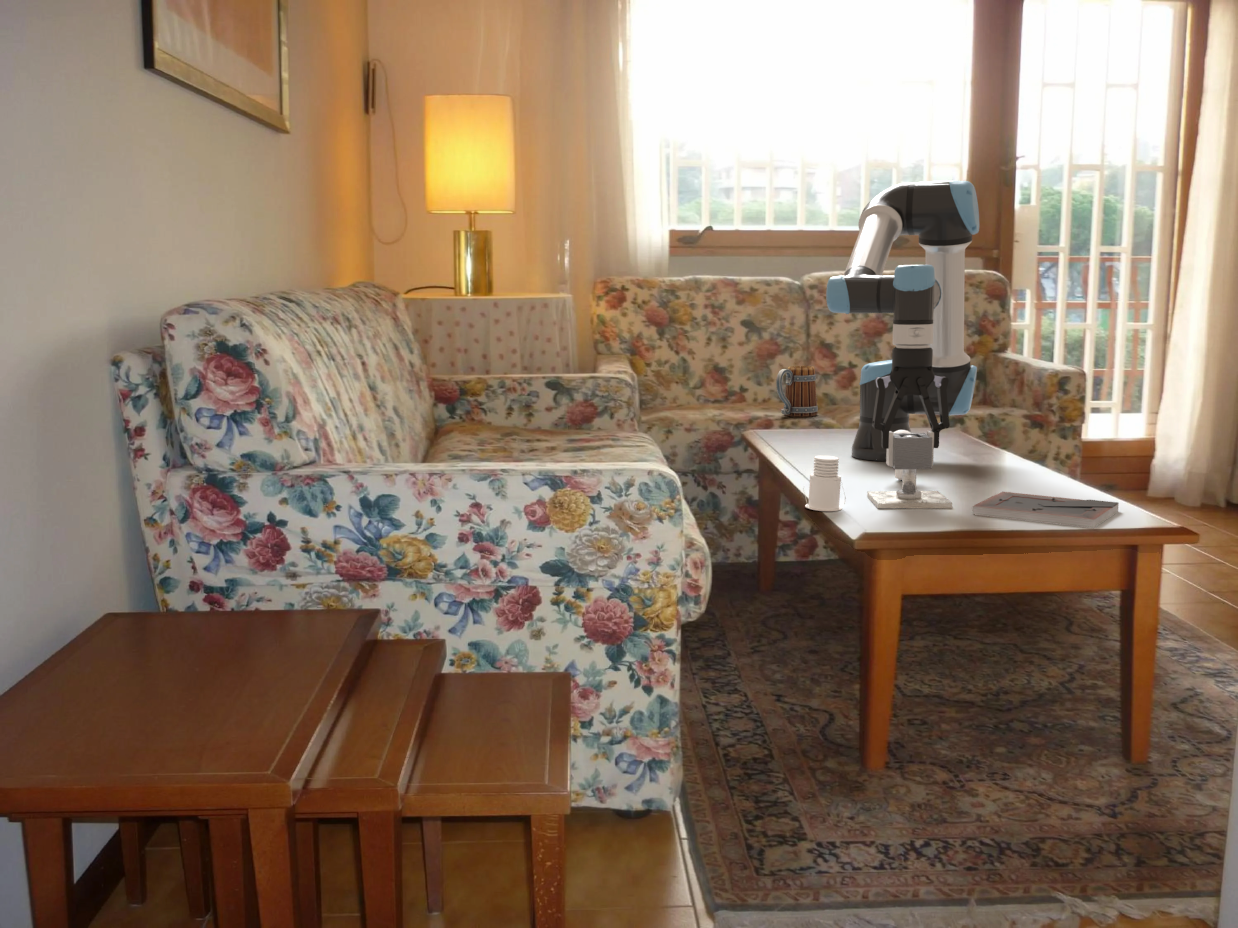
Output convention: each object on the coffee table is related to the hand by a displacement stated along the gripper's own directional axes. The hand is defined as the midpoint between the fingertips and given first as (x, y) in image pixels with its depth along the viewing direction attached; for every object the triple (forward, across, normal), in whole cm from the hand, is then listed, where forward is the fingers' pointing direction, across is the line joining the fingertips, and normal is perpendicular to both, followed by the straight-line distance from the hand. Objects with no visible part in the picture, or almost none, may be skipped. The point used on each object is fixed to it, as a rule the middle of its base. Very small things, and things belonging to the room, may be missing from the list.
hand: (909, 464), depth 226 cm
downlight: (+8, -17, -5) cm, 19 cm away
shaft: (+7, 0, 0) cm, 7 cm away
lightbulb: (+8, +3, +23) cm, 25 cm away
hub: (0, 0, 0) cm, 0 cm away
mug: (+7, -8, +134) cm, 134 cm away
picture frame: (+8, +23, -11) cm, 27 cm away
